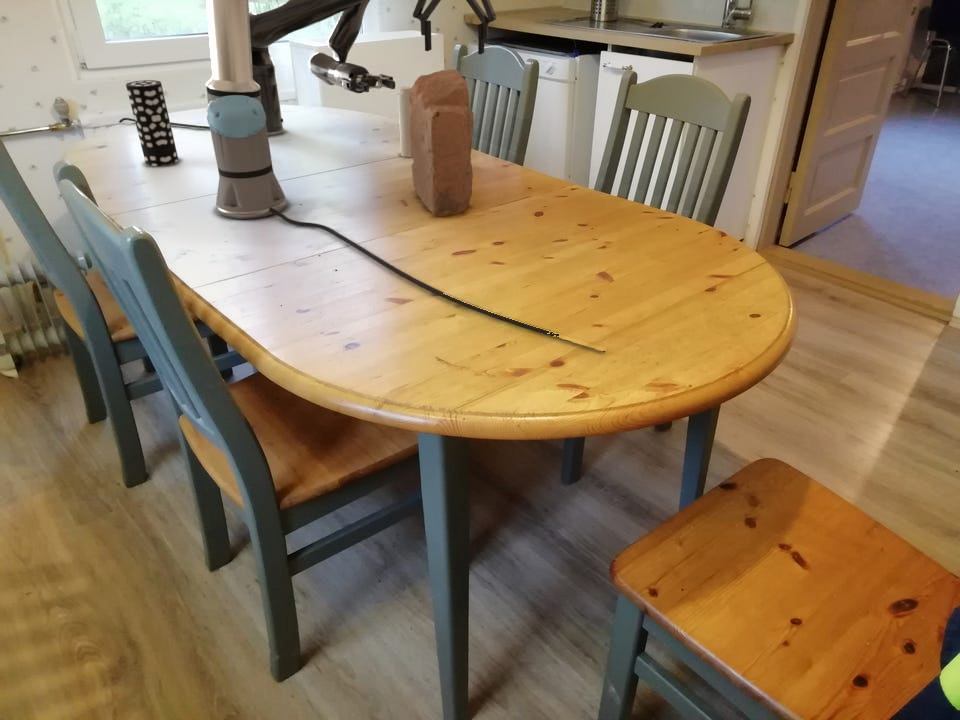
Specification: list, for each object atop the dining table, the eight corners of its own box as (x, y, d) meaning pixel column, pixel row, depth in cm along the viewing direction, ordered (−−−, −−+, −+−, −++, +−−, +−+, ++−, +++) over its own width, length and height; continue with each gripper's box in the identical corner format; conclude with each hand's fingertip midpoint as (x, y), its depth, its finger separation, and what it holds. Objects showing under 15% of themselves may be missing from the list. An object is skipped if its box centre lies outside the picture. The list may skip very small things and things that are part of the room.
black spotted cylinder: (184, 157, 190) (167, 80, 179) (169, 166, 183) (151, 87, 172) (155, 156, 190) (136, 79, 179) (139, 165, 183) (119, 86, 172)
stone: (482, 213, 155) (482, 80, 141) (434, 219, 152) (429, 83, 138) (455, 187, 173) (452, 67, 159) (411, 191, 170) (404, 69, 156)
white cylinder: (400, 153, 196) (397, 86, 186) (414, 152, 197) (412, 85, 187) (401, 157, 193) (398, 89, 183) (416, 156, 193) (413, 89, 183)
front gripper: (510, -48, 158) (507, 52, 169) (408, -51, 163) (412, 46, 175) (502, -47, 152) (500, 57, 163) (396, -50, 157) (401, 51, 169)
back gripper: (329, 65, 198) (358, 74, 188) (372, 61, 206) (402, 70, 195) (331, 93, 202) (359, 103, 192) (373, 88, 210) (402, 98, 199)
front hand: (454, 52), depth 169 cm, fingers open, 13 cm apart
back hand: (381, 86), depth 193 cm, fingers open, 8 cm apart
